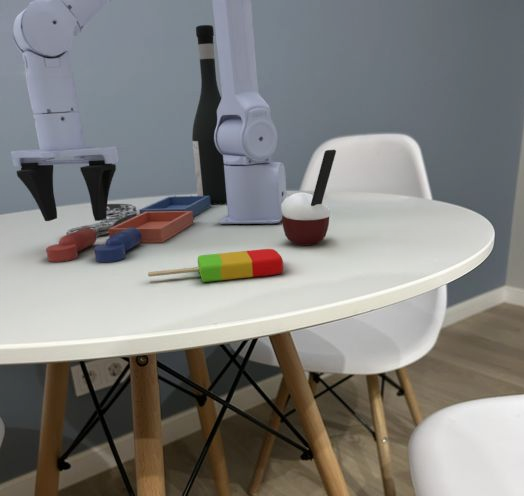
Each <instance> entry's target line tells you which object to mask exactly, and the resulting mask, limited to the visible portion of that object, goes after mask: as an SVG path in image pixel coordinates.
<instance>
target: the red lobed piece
mask: <svg viewBox="0 0 524 496" xmlns="http://www.w3.org/2000/svg"><path fill="white" fill-rule="evenodd" d="M92 229H93V228H83V229H80V230H77V231H74V232H73V233H71V234H69V235H67V234H66V235H64V236H62V237H61V238H60V239H59V240H58V243H57V244H52V245H49V246H47V247H46V248H45V252H46V256H47V260H48V261H49V262H51V263H63V262H68V261H72V260H75V259H77V258H78V256H79V254H78V253H79V252H81V251H83V250H85V249H87V248H89V247H91V246H93V245H95V243H96V242H97V237H98V236H96V232H94V231H93V230H92Z"/></svg>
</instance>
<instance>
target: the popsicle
mask: <svg viewBox="0 0 524 496" xmlns="http://www.w3.org/2000/svg"><path fill="white" fill-rule="evenodd" d="M283 260H284V259H283V257H282V255H281V254H280V253H279V252H278V251H277V250H276V249H274V248H262V249H251V250H241V251H231V252H221V253H211V254H210V253H209V254H201V255H198V256H197V266H196V267H195V266H194V267H187V268H186V267H185V268H176V269H175V268H174V269H165V270H156V271H155V270H154V271H149V272H147V276H148V277H159V276H168V275H169V276H170V275H178V274H188V273H197V272H199V275H200V278H201V281H202V282H203V283H209V282H218V281H229V280H237V279H247V278H256V277H265V276H275V275H279V274H281V273H282V272H283V270H284V261H283Z"/></svg>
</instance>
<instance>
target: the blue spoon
mask: <svg viewBox="0 0 524 496" xmlns="http://www.w3.org/2000/svg"><path fill="white" fill-rule="evenodd" d="M141 238H142V236H141V233H140V231H139V230H138V229H136V228H133V227H130V228H127V229H125V230H123V231H121V232H119V233H117V234H115V235H113V236H111V237H109V236H108V238H107V239H106V241H105V243H104V244H99V245H97V246H94V248H93V250H94V251H93V252H94V257H95V261H96V262H98V263H113V262H119V261H122V260H124V259H126V257H127V256H126V252H128V251H129V250H131V249H133V248H135V247H137V246H138V245H140V244H141V243H140V242H141Z"/></svg>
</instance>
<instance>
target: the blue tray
mask: <svg viewBox="0 0 524 496" xmlns="http://www.w3.org/2000/svg"><path fill="white" fill-rule="evenodd" d="M211 206H212V204H211V203H210V196H198V195H182V196H181V195H180V196H179V195H178V196H177V195H175V196H167V197H165V198H162V199H160V200H158V201H155V202H153V203H151V204H149V205H146V206H144V207H142V208H140V209H138V212H139V215H140V214H142V213H144V212H158V211H192V212H193V218H194V217H196V216H198V215H199V214H201V213H202V212H205V211H206V210H208V209H209V208H211Z"/></svg>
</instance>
